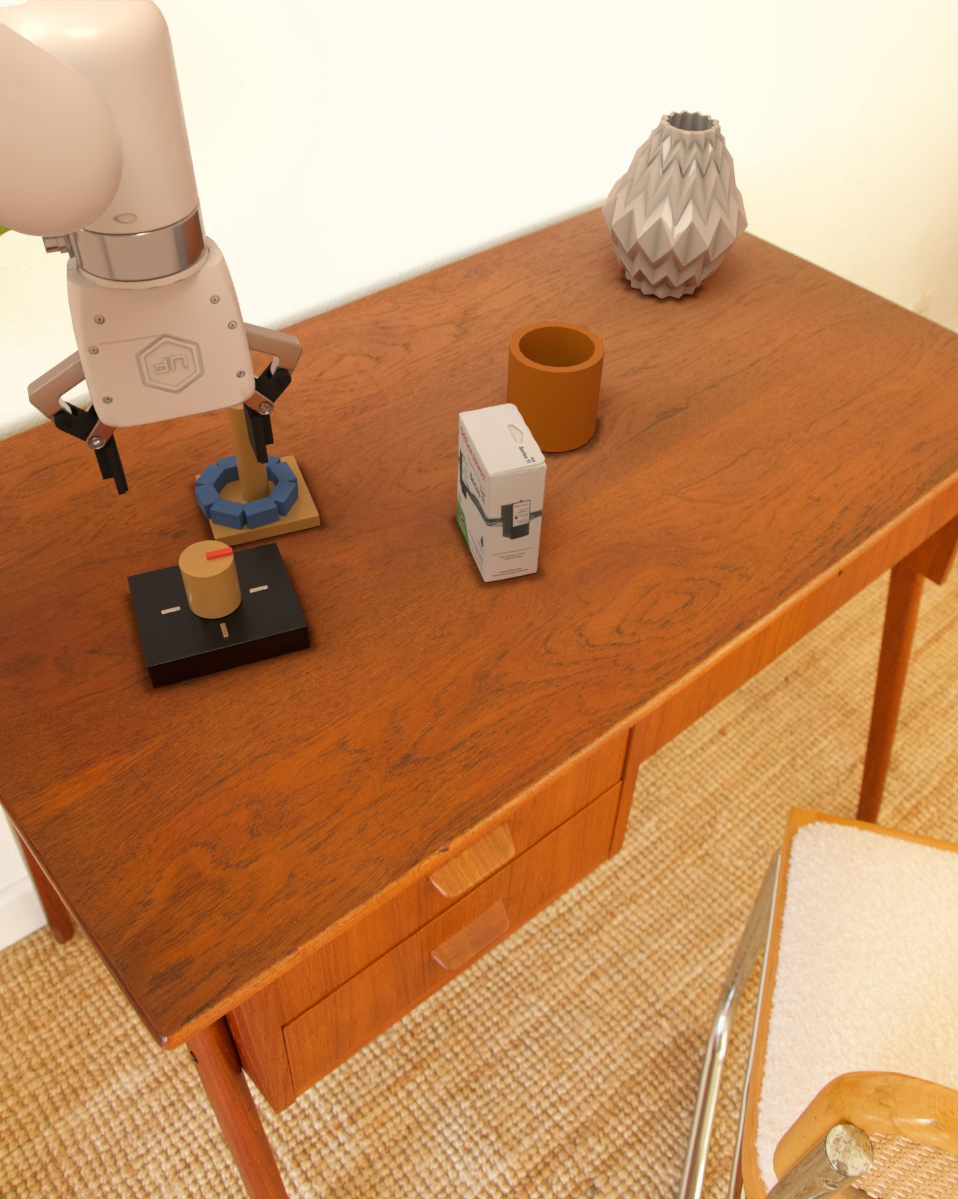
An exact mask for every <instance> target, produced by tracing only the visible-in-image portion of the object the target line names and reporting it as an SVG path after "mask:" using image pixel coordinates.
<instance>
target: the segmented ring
mask: <svg viewBox="0 0 958 1199" xmlns="http://www.w3.org/2000/svg"><path fill="white" fill-rule="evenodd" d="M267 455H268V463H265V464H266V470H267V477H268V480H269V481H273V483H274V485H275V486H276V487H275V488H274V489H273V491H272V492H271V494H270V495H269V497H266V498H263V499H260V500H256V501H253V502H250V503H246V504H241V503H237V502H233V501H228V500H224V499H221V498H220V496H219V493H220V492H221V490H222V489H223V488H224V486H225V485H226V484H227V483H228V482H232V481H235V480H239V474H238V469H237V463H236V457H235V454H233V455H229V456H226V457H224V458H219V459H216V460H215V463H216V464H211V463H209V464H208V465H207V466H206V468H205V469H204V470H203V471H202V473H201V475H200V474H199V475H200V477H199V478H198V479H197V480H196V479H195V482H194V483H195V486H194V488H193V489H194V492H195V497H196V502H197V504H198V505H199V508H200V509H201V511H202V513H203V515H204V517H205V519H206V520H208V519H210V518H212V522H213V523H214V524H218V525H222V526H226V527H231V528H235V529H239V530H241V529H242V528H243V527H244V525H245V524H247V525H248V527H249V529H254V528H257V527H260V526H263V525H266V524H270V523H273V522H276V521H279V520H280V519H279V515H283V516H286V515H287V514H288V512H289V511H290V509H291V508H292V506H293V505H294V503H295V502H296V500H297V499H298V483H297V478H296V476H295V474H294V473H293V471H292V470H291V468H290V467H289V465H288V464H287V462H286V461H285V462H282V463H281V460H280V458H281V457H278V456H275V455H271V454H267Z"/></svg>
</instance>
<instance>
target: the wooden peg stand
mask: <svg viewBox="0 0 958 1199" xmlns="http://www.w3.org/2000/svg"><path fill="white" fill-rule="evenodd" d="M226 411H227V417H228V423H229V429H230V435H231V438H232V439H231V440H232V445H233V451H234V455H235V457H236V463H237V469H238V474H239V480H235V481H232V482H228V483H227V484H226V485H225V486H224V488H223V489H222V490H221V492H220V493H219V496H220V498H221V499H224V500H228V501H233V502H237V503H241V504H246V503H250V502H253V501H256V500H260V499H263V498H266V497H269V495H270V494H271V492H272V491H273V489H274V488H275V487H276V486H275V485H274V483H273V481H269V480H268V477H267V470H266V464H265V463H264V464H261V463H260V462H259V463H258V462H257V459H256V457H255V454H254V452H253V449H252V447H251V444H250V441H249V437H248V431H247V426H246V420H245V414H244V408H243V403H241V404H239V405H236V406H233V407H229V408H226ZM279 458H280V460H281V463H282V462H285V461H286V462H287V464H288V465H289V467H290V468H291V470H292V471H293V473H294V474H295V476H296V478H297V483H298V499H297V500H296V502H295V503H294V505H293V506H292V508H291V509H290V511H289V512H288V514H287V515H286V516H283V515H279V519H280V520H279V521H276V522H273V523H270V524H266V525H263V526H260V527H257V528H254V529H249V527H248V525H247V524H245V525H244V527H243V528H242V529H241V530H239V529H235V528H231V527H226V526H222V525H218V524H214V523H213V522H212V518H210V519H207V520H208V523H209V527H210V529H211V532H212V537H213V539H214V541H219V542H222V543H224V544H226V545H228V546H229V547H233V546H237V545H241V544H246V543H251V542H254V541H260V540H264V539H267V538H273V537H275V536H276V537H277V536H280V535H285V534H289V533H294V532H298V531H302V530H307V529H311V528H316V527H321V518H320V514H319V511H318V509H317V507H316V504H315V503H314V500H313V497H312V495H311V493H310V490H309V488H308V486H307V484H306V482H305V479H304V477H303V474H302V472H301V470H300V467H299V465H298V462H297V460H296V459H295V456H294V454H292V455H287V456H282V457H281V456H280V457H279ZM201 474H202V473H201ZM201 474H196V475H195V481H196V480H197V479H198V478H199V477H200V475H201Z"/></svg>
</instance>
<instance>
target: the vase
mask: <svg viewBox="0 0 958 1199" xmlns="http://www.w3.org/2000/svg"><path fill="white" fill-rule="evenodd" d="M721 132H722V131H721V125H720V121H719V119H714V118H712V116H711V114H702V113H701V112H699V111H698V110H697V111H693V112H690V111H688V110H686V109H683V110H681V111H680V112H677V111H673V110H672V111H670V113H669V114H663V115H661V118H660V121H659V123H658V125H657V127H655V128H653V129H652V130H651V132H650V134H649V137H648V139H647V140H645V141H644V142H643V143H642V144H641V145H640V146H639V147H637V149H636V151H635V153H634V155H633V158H632V160H631V163H630V165H629V167H628V169H627V171H626V172H625V173H624V174H623V175H622V176H620V178H618V179H617V180H616V181H615V182H614V184H613V187H612V188H611V190H610V191H609V193H608V195H607V199H606V200H605V202H604V204H603V206H602V208H601V215H602V217H603V220H604V223H605V225H606V228H607V231H608V234H609V238H610V242H611V247H612V249H613V251H614V254H615V256H616V259H617V262H618V264H619V266H620V268H622V269H623V270H624V274H625V280H628V281H630V288H633V289H639V290H640V291H641V293H642V295H647V296H648V295H654V296H656V297H657V298H659V299H662V300H663V299H664V298H667V297H672V298H675V299H680V298H681V297H682V296H683V295H693V294H694V292H695V289H696V288H698V287H700V286H701V284H702V281H703V280H706V279H709V278H711V277H712V276H713V275H714V274H715V272H716V271H717V269H718V268H719V266H721V264H722V263H723V261H724V260H725V259H726V257H727V255H728V254H729V252H730V251H731V250H732V249H733V247H734V246H735V245H736V243H737V242H738V240H739V239H740V238H741V237H742V235H743V234H744V232H745V231H746V229H747V228H748V225H749V223H748V218H747V213H746V209H745V204H744V200H743V195H742V193H741V191H740V190H739V188H738V186H737V184H736V173H735V163H734V158H733V156H732V155H731V153H730V151H729V149H728V148H727V145H726V138H725V136H724V135H723V134H722V133H721Z"/></svg>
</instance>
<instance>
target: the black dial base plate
mask: <svg viewBox="0 0 958 1199" xmlns="http://www.w3.org/2000/svg"><path fill="white" fill-rule="evenodd" d="M279 548H280V547H279V546H278V542H271V543H267V544H261V545H257V546H253V547H249V548H245V549H240V550H236V551H233V555H234V560H235V565H236V570H237V575H238V580H239V586H240V591H241V596H242V599H241V603H240V605H239V606H238V608H237V609H236V610H235V611H234V612H232V613H231V614H229V615H227V616H224V617H221V618H216V619H207V618H203V617H200V616H198V615H196V614H195V613H193V612H192V610H191V609H190V606H189V603H188V599H187V595H186V591H185V587H184V583H183V579H182V575H181V571H180V567H179V564H175V565H171V566H168V567H162V568H158V569H155V570H150V571H145V572H142V573H137V574H132V575H128V576H127V578H126V579H127V583H128V588H129V593H130V596H131V601H132V605H133V611H134V615H135V619H136V624H137V628H138V633H139V637H140V642H141V648H142V652H143V655H144V660H145V666H146V669H147V672H148V675H149V679H150V681H151V685H152V688H153V689H158V688H161V687H165V686H169V685H173V684H177V683H181V682H184V681H188V680H192V679H195V678H200V677H203V676H206V675H211V674H214V673H219V672H222V671H227V670H230V669H233V668H237V667H242V666H245V665H249V664H253V663H257V662H260V661H265V660H267V659H271V658H275V657H280V656H283V655H287V654H290V653H294V652H299V651H303V650H307V649H310V648H311V641H310V640H311V639H310V634H309V627H308V623H307V620H306V618H305V615H304V612H303V609H302V608H301V604H300V602H299V599H298V597H297V593H296V591H295V588H294V586H293V583H292V581H291V577H290V575H289V572H288V569H287V567H286V564H285V561H284V560H283V559H284V558H283V557H282V553H281V551H280V549H279Z"/></svg>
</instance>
